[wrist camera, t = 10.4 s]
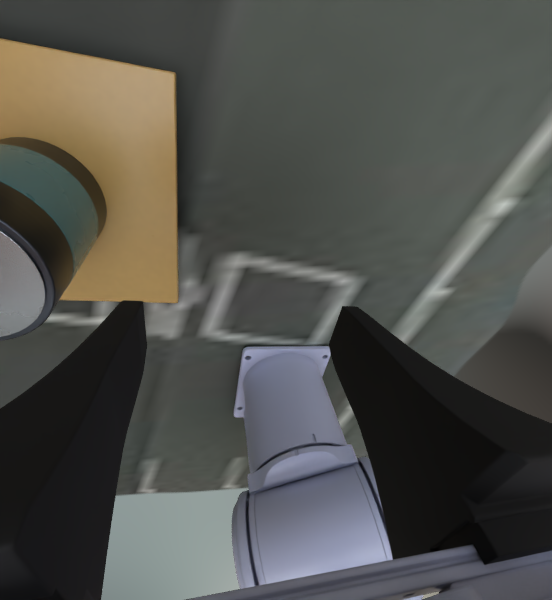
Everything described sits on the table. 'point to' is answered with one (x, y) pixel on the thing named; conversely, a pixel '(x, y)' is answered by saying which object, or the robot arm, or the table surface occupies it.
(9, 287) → the can
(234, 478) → the table surface
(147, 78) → the platform
